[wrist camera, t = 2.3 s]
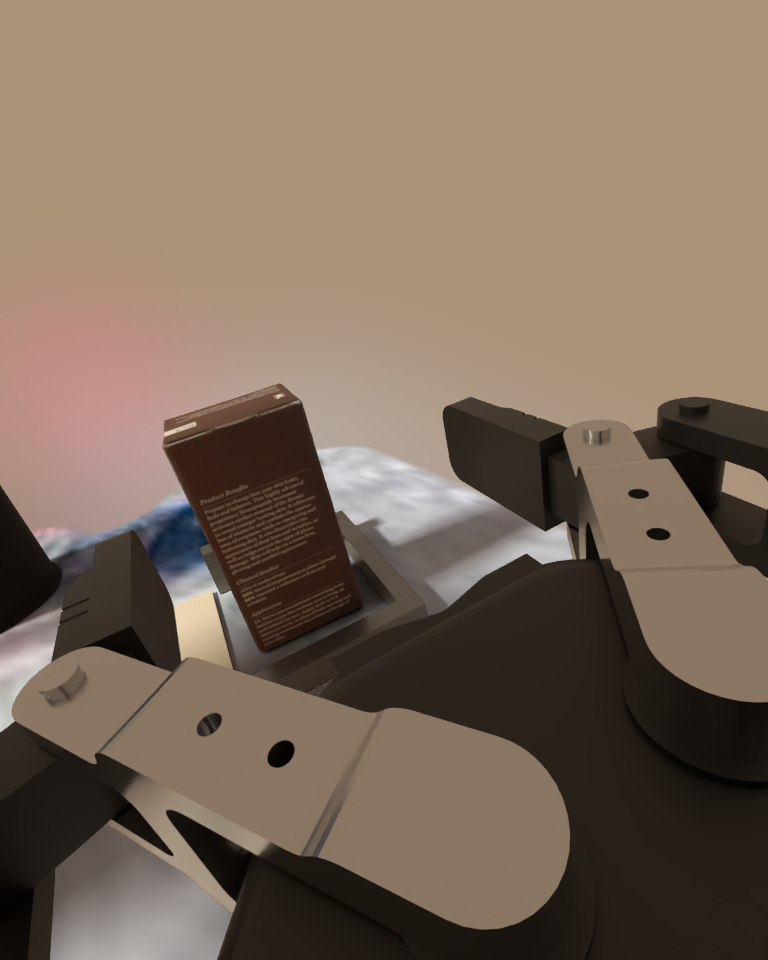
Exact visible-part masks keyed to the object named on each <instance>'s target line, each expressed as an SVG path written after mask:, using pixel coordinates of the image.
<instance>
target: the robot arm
mask: <svg viewBox="0 0 768 960" xmlns="http://www.w3.org/2000/svg"><path fill="white" fill-rule="evenodd" d="M443 422H444V428H445V434H446V440H447V446H448V452H449V458H450V463H451V466H452V468H453V470H454V472H455V474H456V475H457V477H458V478H459V479H460V480H462V481H463V482H465V483H466V484H468V485H470V486H471V487H473V488H475V489H476V490H478V491H480V492H481V493H483V494H484V495H486V496H488V497H489V498H491V499H493V500H494V501H496V502H498V503H499V504H501V505H502V506H504V507H506V508H507V509H509V510H511V511H512V512H514V513H516V514H517V515H519V516H521V517H522V518H524V519H525V520H527V521H529V522H530V523H532V524H534V525H535V526H537V527H539V528H540V529H542V530H544V531H547V530H549V529H551V528H553V527H555V526H557V525H559V524H561V523H562V522H564V521H565V522H567V537H568V541H569V546H570V550H571V554H572V560H564V561H557V562H552V563H547V564H543V565H542V564H541V563H539V562H538V561H536V560H535V559H534V558H532V557H531V556H529V555H528V554H525V555H523V556H521V557H519V558H518V559H516V560H514V561H512V562H510V563H508V564H506V565H505V566H503V567H501V568H499V569H497V570H495V571H493V572H491V573H490V574H488V575H486V576H484V577H483V578H482V579H480V580H479V581H478V582H477V583H476V584H475V585H474V586H472V587H471V588H470V589H469V590H468V591H467V592H466V593H465V594H463V595H462V596H461V597H460V598H459V599H458V600H457V601H455V602H454V603H453V604H452V605H451V606H450V607H449V608H447V609H446V610H444V611H443V612H440V613H438V614H434V615H431V616H428V617H425V618H422V619H418V620H415V621H412V622H409V623H406V624H402V625H399V626H396V627H393V628H389V629H386V630H384V631H382V632H380V633H378V634H376V635H374V636H372V637H370V638H369V639H367V640H365V641H363V642H361V643H359V644H357V645H356V646H354V647H352V648H350V649H348V650H346V651H344V652H343V653H341V654H339V655H337V656H335V657H333V658H331V661H332V664H333V667H334V669H335V672H336V674H337V678H336V679H335V680H334V681H332V682H331V683H330V684H329V685H328V686H327V687H326V688H325V689H324V690H323V691H322V693H321V694H320V695H319V696H318V697H317V696H314V695H311V694H307V693H304V692H301V691H298V690H295V689H292V688H289V687H286V686H282V685H279V684H276V683H273V682H270V681H267V680H264V679H261V678H258V677H254V676H251V675H248V674H245V673H242V672H239V671H236V670H233V669H230V668H226V667H223V666H220V665H217V664H214V663H211V662H208V661H205V660H201V659H198V658H194V657H188V658H185V659H184V660H183V661H182V662H181V655H180V648H179V640H178V633H177V626H176V618H175V611H174V606H173V603H172V600H171V597H170V595H169V592H168V590H167V588H166V586H165V584H164V582H163V580H162V579H161V577H160V575H159V573H158V571H157V570H156V568H155V566H154V564H153V562H152V560H151V559H150V557H149V555H148V553H147V551H146V550H145V548H144V546H143V544H142V542H141V541H140V539H139V537H138V536H137V534H136V533H135V532H134V531H133V530H131V531H128V532H126V533H123V534H121V535H118V536H116V537H113V538H111V539H108V540H106V541H103V542H101V543H98V544H96V548H95V556H94V564H93V570H90V571H88V572H86V573H83V574H81V575H79V576H78V577H77V578H76V580H75V581H74V582H73V584H72V585H71V586H70V588H69V589H68V590H67V592H66V593H65V597H64V602H63V607H62V610H63V612H61V617H60V622H59V623H60V625H59V626H58V631H57V636H56V641H55V646H54V651H53V656H52V661H51V663H50V664H48V665H47V666H46V667H44V668H43V669H42V670H40V671H39V672H38V673H37V674H36V675H35V676H33V677H32V678H31V679H30V680H29V681H28V682H27V684H26V685H25V686H24V687H23V688H22V690H21V691H20V692H19V694H18V696H17V697H16V699H15V701H14V704H13V708H12V716H13V718H14V720H15V722H13V723H12V724H11V725H10V726H9V727H7V728H6V729H5V730H3V731H2V732H0V960H50V948H51V931H52V915H53V899H54V883H55V868H56V867H57V866H58V865H59V864H61V863H62V862H63V861H64V860H65V859H66V858H67V857H69V856H70V855H71V854H72V853H73V852H74V851H75V850H77V849H78V848H79V847H80V846H81V845H82V844H83V843H85V842H86V841H87V840H88V839H89V838H90V837H91V836H93V835H94V834H95V833H96V832H97V831H98V830H99V829H101V828H102V827H103V826H104V825H105V824H106V823H107V824H108V825H110V826H111V827H112V828H114V829H116V830H117V831H119V832H120V833H122V834H123V835H125V836H127V837H128V838H130V839H131V840H133V841H134V842H136V843H138V844H139V845H141V846H142V847H144V848H145V849H147V850H149V851H150V852H152V853H153V854H155V855H156V856H158V857H160V858H161V859H163V860H164V861H166V862H167V863H169V864H170V865H172V866H174V867H175V868H177V869H178V870H180V871H181V872H183V873H184V874H186V875H187V876H188V877H189V878H191V879H192V880H193V881H194V882H195V883H197V884H198V885H199V886H200V887H201V888H202V889H203V890H204V891H205V892H206V893H207V894H209V895H210V896H211V897H212V898H213V899H215V900H216V901H217V902H218V903H220V904H221V905H222V906H224V907H225V908H226V909H228V910H229V911H231V912H232V913H233V914H232V917H231V920H230V923H229V926H228V929H227V932H226V935H225V938H224V941H223V944H222V947H221V950H220V953H219V956H218V959H217V960H768V581H767V580H766V579H765V577H766V578H768V510H766V509H764V508H761V507H759V506H756V505H754V504H751V503H749V502H746V501H744V500H741V499H739V498H736V497H734V496H731V495H729V494H726V493H724V492H721V490H722V483H723V475H724V468H725V461H728V462H731V463H734V464H737V465H740V466H743V467H746V468H749V469H751V470H754V471H757V472H759V473H760V474H761V475H763V476H764V477H765V478H766V480H767V481H768V412H767V411H763V410H759V409H754V408H750V407H746V406H742V405H737V404H733V403H729V402H725V401H721V400H716V399H711V398H702V397H689V398H680V399H675V400H671V401H668V402H666V403H664V404H662V405H661V406H660V407H659V408H658V415H657V426H655V427H651V428H647V429H643V430H639V431H635V432H632V430H631V429H630V427H628V426H627V425H625V424H623V423H620V422H616V421H610V420H591V421H585V422H580V423H577V424H574V425H572V426H570V427H568V428H567V427H564V426H561V425H558V424H555V423H552V422H550V421H547V420H544V419H541V418H539V419H537V417H535V416H532V415H529V414H527V415H526V414H525V413H523V412H520V411H517V410H514V409H511V408H502V407H498V406H495V405H492V404H489V403H486V402H483V401H481V400H478V399H475V398H472V397H469V398H466V399H464V400H461V401H459V402H456V403H454V404H451V405H449V406H446V407H445V408H444V410H443ZM740 564H741V565H740ZM742 565H743V566H742Z"/></svg>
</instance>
